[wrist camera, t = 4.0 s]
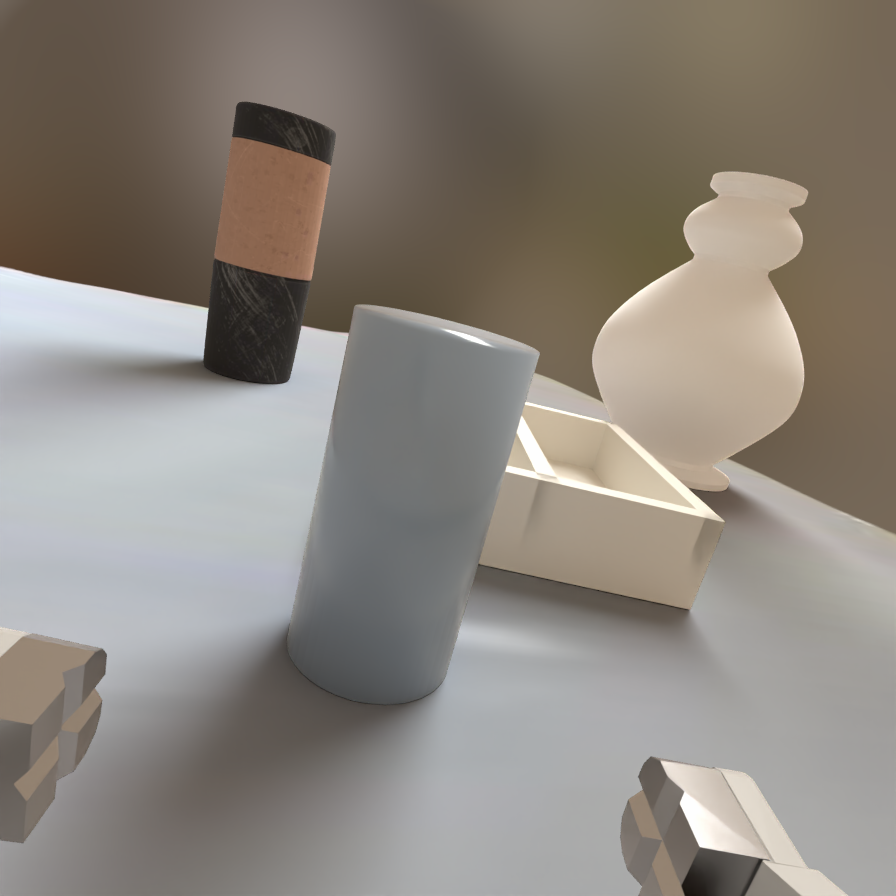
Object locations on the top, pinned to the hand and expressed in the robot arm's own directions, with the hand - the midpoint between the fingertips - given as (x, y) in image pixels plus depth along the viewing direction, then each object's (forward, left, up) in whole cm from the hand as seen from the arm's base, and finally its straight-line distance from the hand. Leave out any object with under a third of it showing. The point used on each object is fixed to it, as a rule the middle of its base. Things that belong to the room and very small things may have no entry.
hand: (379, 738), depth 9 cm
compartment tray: (+7, +28, -6) cm, 29 cm away
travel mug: (-14, +46, -6) cm, 48 cm away
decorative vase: (+24, +48, -6) cm, 54 cm away
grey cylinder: (0, +11, -6) cm, 12 cm away
